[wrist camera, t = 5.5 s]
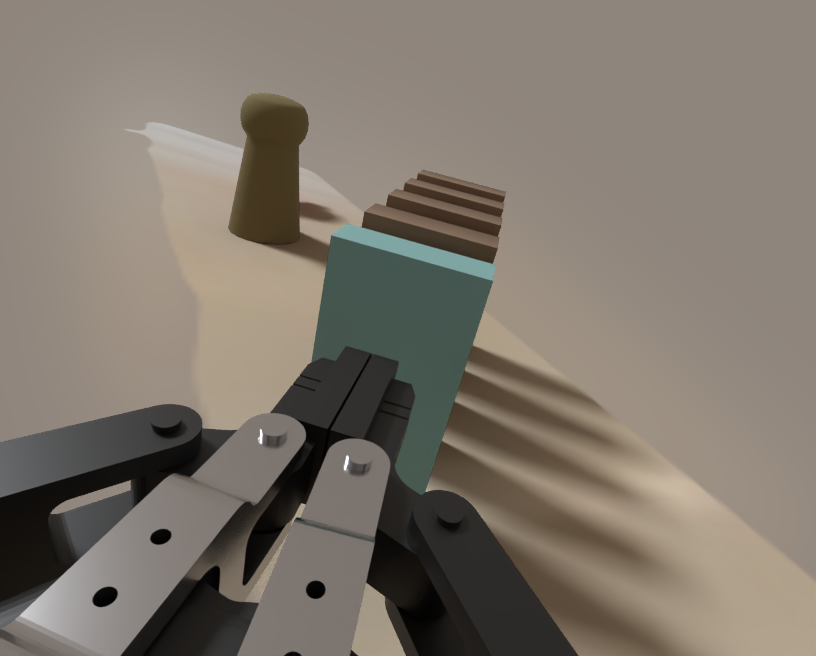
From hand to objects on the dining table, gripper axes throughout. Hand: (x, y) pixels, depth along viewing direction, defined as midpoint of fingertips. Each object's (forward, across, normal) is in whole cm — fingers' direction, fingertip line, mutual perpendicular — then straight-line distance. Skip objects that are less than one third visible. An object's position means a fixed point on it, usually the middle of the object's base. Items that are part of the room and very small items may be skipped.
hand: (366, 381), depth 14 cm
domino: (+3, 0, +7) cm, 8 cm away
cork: (+28, +16, +7) cm, 33 cm away
